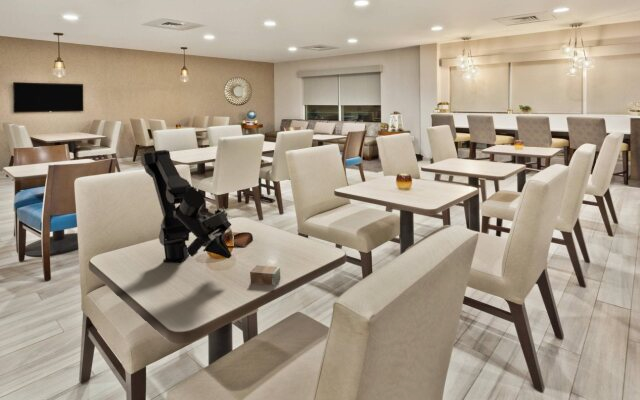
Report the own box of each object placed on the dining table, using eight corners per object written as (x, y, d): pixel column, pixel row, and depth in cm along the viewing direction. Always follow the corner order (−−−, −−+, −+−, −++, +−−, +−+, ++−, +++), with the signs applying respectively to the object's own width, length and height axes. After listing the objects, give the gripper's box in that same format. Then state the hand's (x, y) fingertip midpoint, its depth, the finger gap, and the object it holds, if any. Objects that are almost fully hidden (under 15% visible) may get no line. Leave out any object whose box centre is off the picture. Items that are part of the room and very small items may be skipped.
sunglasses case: (199, 246, 154) (201, 228, 156) (206, 249, 160) (208, 232, 162) (247, 247, 151) (248, 229, 153) (252, 250, 158) (253, 233, 160)
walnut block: (250, 272, 122) (274, 273, 120) (256, 265, 127) (279, 267, 125) (250, 283, 123) (274, 285, 121) (257, 275, 127) (280, 277, 126)
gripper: (192, 211, 114) (233, 251, 114) (223, 195, 131) (258, 230, 131) (170, 237, 117) (209, 276, 118) (203, 218, 135) (237, 252, 135)
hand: (230, 257), depth 125 cm, fingers closed
